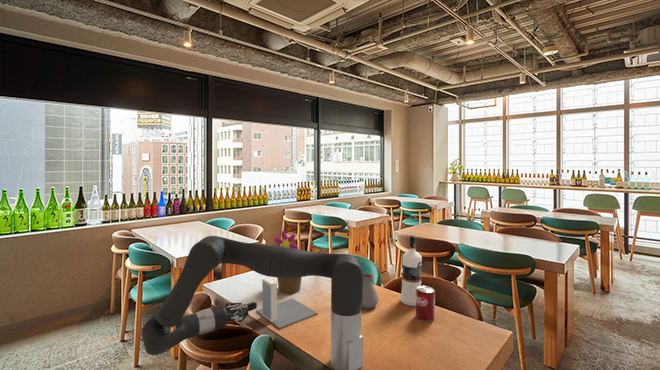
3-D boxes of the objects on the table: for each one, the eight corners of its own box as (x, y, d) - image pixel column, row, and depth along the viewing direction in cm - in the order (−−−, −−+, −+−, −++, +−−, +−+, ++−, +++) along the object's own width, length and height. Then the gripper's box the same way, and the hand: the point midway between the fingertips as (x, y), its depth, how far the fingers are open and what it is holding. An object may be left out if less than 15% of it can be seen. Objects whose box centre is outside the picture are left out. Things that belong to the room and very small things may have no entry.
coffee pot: (382, 303, 138) (383, 270, 137) (372, 313, 128) (372, 278, 127) (341, 292, 149) (341, 261, 148) (328, 301, 139) (328, 268, 138)
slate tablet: (276, 320, 121) (276, 282, 120) (271, 322, 119) (271, 284, 118) (267, 313, 126) (267, 277, 125) (262, 315, 124) (262, 278, 123)
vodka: (410, 296, 145) (411, 232, 143) (426, 303, 138) (428, 236, 136) (395, 300, 140) (397, 235, 138) (411, 308, 133) (413, 239, 130)
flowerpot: (269, 293, 147) (269, 231, 145) (282, 282, 160) (282, 225, 158) (297, 297, 142) (297, 233, 140) (308, 286, 156) (308, 227, 154)
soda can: (421, 323, 120) (422, 293, 119) (411, 314, 127) (412, 286, 126) (438, 321, 122) (439, 291, 121) (427, 312, 129) (428, 284, 128)
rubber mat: (317, 314, 127) (317, 312, 127) (279, 329, 115) (279, 327, 115) (292, 299, 140) (292, 298, 140) (256, 311, 129) (256, 310, 129)
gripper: (217, 316, 102) (264, 301, 113) (203, 302, 112) (247, 289, 123) (217, 338, 102) (264, 321, 113) (203, 322, 112) (247, 308, 123)
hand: (255, 305), depth 118 cm, fingers closed
